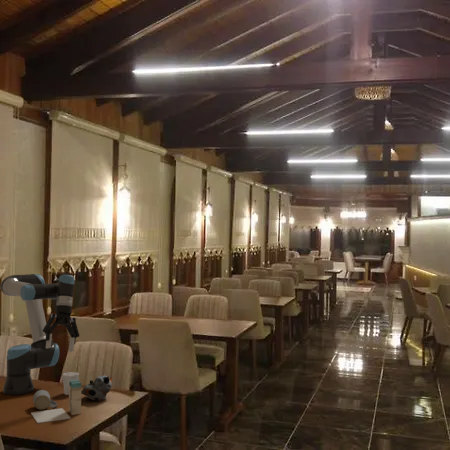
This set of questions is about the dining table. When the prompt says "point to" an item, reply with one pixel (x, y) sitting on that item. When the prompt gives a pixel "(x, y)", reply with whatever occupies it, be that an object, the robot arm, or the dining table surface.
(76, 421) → the dining table surface
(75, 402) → the beige long block
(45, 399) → the ceramic mug
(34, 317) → the robot arm
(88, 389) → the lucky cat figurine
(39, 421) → the grey mat
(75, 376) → the white cup
